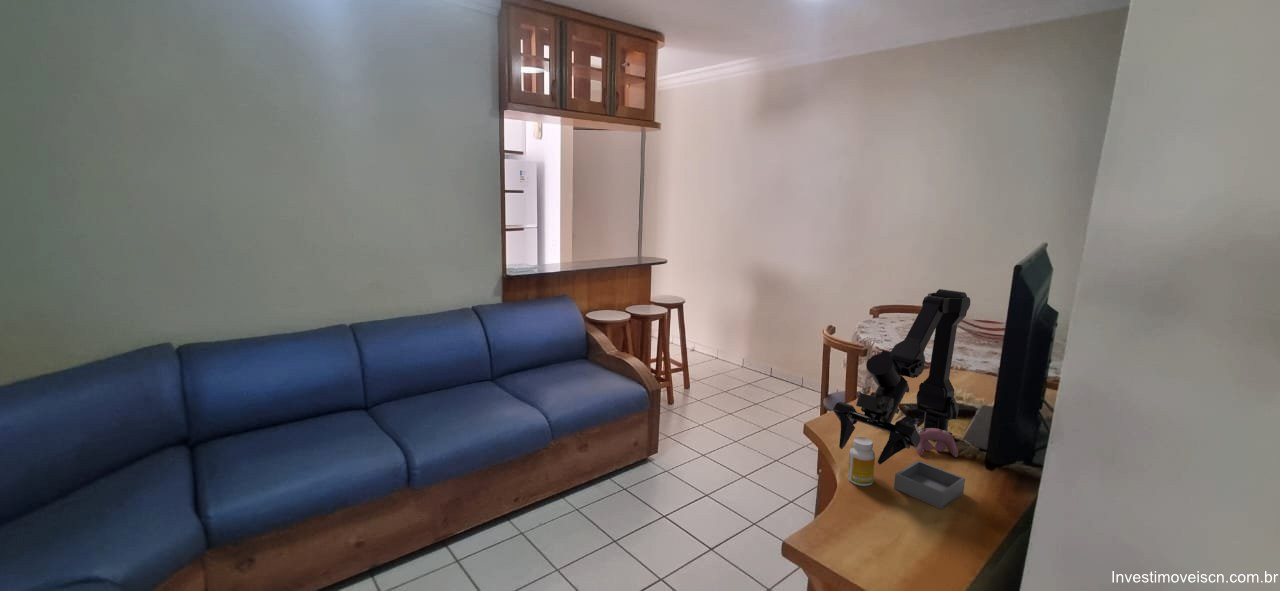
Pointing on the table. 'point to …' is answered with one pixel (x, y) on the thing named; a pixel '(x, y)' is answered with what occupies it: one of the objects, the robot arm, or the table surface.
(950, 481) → the trough tray
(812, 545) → the table surface
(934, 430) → the video game controller
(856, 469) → the supplement bottle
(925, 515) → the table surface
